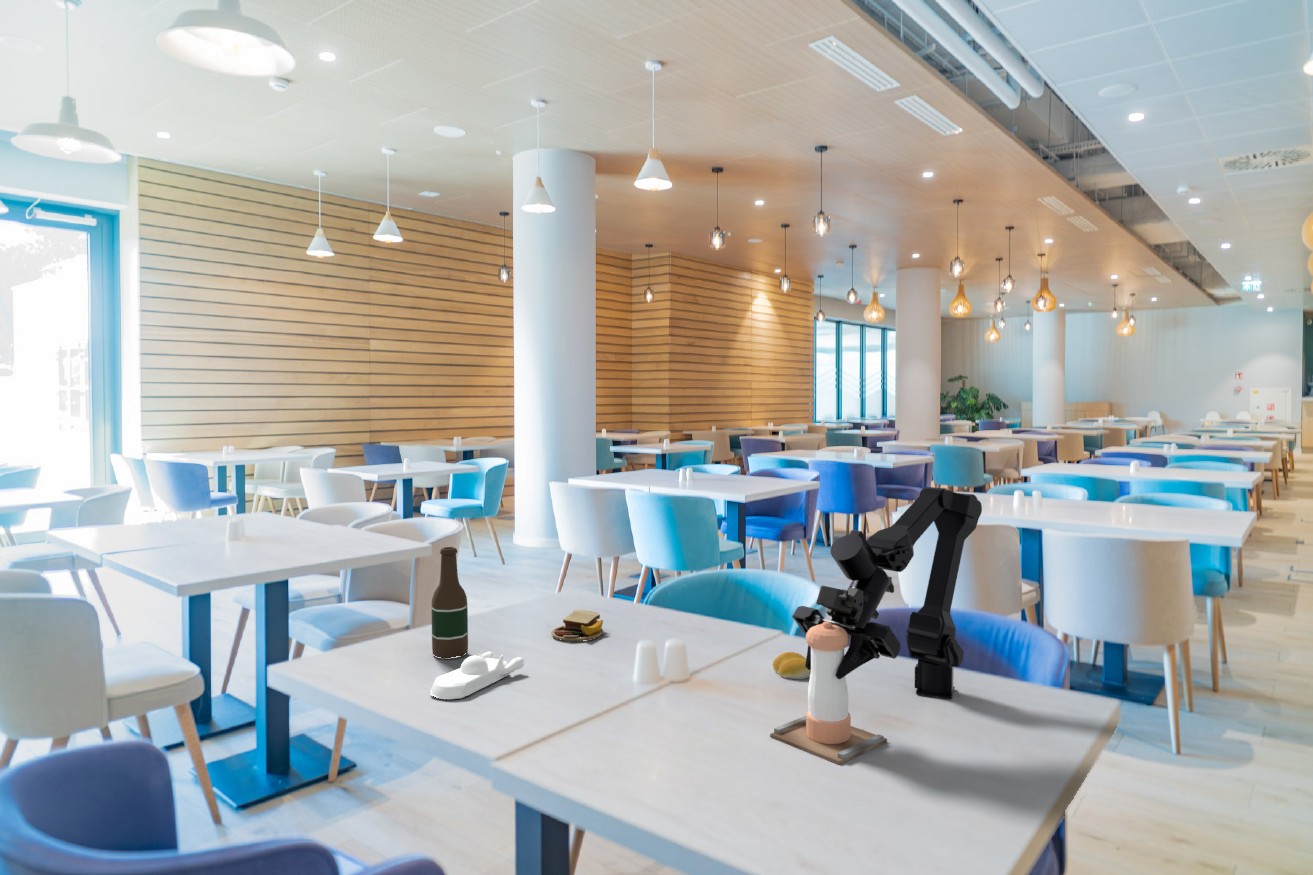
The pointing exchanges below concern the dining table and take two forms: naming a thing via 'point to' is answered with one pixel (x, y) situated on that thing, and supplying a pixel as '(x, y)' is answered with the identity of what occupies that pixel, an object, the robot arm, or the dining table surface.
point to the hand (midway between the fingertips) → (822, 672)
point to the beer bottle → (449, 610)
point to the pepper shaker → (827, 686)
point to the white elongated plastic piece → (473, 675)
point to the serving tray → (836, 753)
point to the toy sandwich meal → (579, 626)
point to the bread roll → (791, 666)
